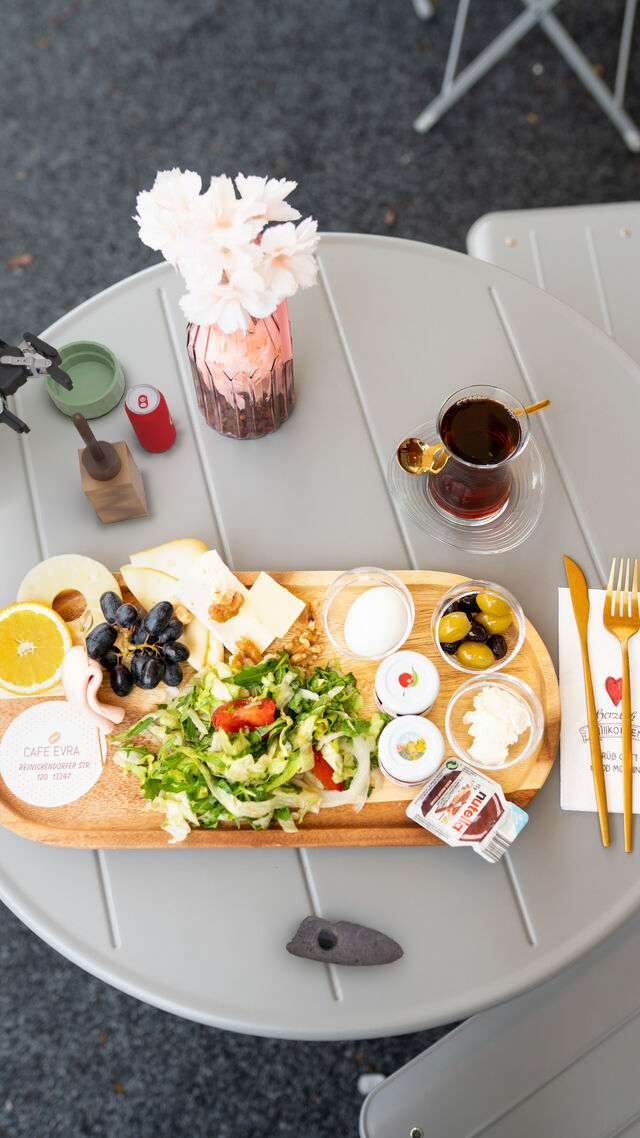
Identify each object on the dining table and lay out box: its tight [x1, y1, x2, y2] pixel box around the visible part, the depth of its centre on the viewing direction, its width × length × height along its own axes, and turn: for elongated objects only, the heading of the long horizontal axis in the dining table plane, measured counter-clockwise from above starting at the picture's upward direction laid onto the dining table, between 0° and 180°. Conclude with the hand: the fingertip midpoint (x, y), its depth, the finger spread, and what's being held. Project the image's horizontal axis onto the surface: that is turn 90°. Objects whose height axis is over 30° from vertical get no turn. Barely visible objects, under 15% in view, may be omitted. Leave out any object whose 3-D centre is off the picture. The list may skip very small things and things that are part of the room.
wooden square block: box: [77, 440, 149, 525], centre depth 125 cm, size 7×7×12 cm
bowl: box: [42, 340, 126, 420], centre depth 135 cm, size 12×12×5 cm
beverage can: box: [124, 383, 177, 453], centre depth 129 cm, size 6×6×12 cm
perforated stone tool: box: [285, 915, 405, 967], centre depth 105 cm, size 15×5×7 cm, turn 79°
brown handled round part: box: [71, 413, 121, 481], centre depth 113 cm, size 5×5×14 cm
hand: (48, 407), depth 113 cm, fingers open, 8 cm apart
